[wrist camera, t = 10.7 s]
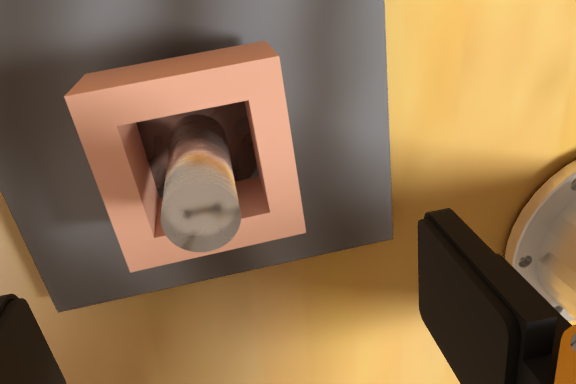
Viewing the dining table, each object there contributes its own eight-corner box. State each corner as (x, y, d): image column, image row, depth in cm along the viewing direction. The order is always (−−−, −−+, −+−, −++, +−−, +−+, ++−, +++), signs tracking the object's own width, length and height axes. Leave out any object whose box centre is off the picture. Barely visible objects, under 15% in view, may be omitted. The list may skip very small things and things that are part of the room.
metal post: (250, 57, 20) (281, 109, 13) (270, 178, 23) (305, 274, 16) (114, 81, 20) (71, 148, 13) (151, 201, 22) (132, 313, 15)
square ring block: (265, 40, 19) (279, 56, 16) (290, 195, 22) (306, 232, 19) (85, 73, 18) (64, 96, 15) (139, 228, 22) (130, 272, 19)
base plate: (368, -96, 20) (380, -100, 19) (383, 225, 27) (393, 238, 26) (-81, -31, 18) (-103, -30, 17) (64, 294, 25) (58, 312, 24)
